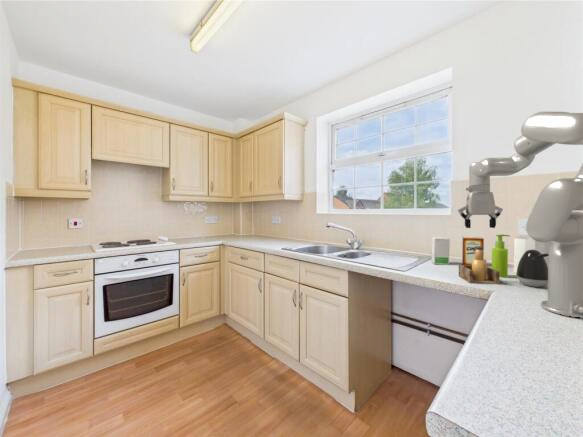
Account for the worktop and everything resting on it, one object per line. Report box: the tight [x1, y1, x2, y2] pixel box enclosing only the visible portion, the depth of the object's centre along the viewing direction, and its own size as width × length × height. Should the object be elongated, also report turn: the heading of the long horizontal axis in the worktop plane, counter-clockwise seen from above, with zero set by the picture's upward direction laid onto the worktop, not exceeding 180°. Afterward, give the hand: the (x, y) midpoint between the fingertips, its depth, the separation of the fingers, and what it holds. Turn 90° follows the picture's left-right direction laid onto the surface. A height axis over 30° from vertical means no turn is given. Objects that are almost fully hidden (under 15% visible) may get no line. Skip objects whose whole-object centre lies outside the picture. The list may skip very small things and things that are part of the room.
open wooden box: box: [458, 264, 500, 285], centre depth 117 cm, size 11×11×6 cm
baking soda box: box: [461, 236, 485, 265], centre depth 148 cm, size 10×6×16 cm
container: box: [513, 236, 553, 275], centre depth 125 cm, size 14×14×18 cm
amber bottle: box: [472, 246, 487, 281], centre depth 116 cm, size 5×5×15 cm
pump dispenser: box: [516, 250, 549, 288], centre depth 108 cm, size 10×10×15 cm
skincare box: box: [431, 236, 451, 266], centre depth 152 cm, size 8×7×16 cm
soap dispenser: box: [491, 233, 511, 278], centre depth 123 cm, size 6×7×20 cm
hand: (480, 227), depth 115 cm, fingers open, 9 cm apart
